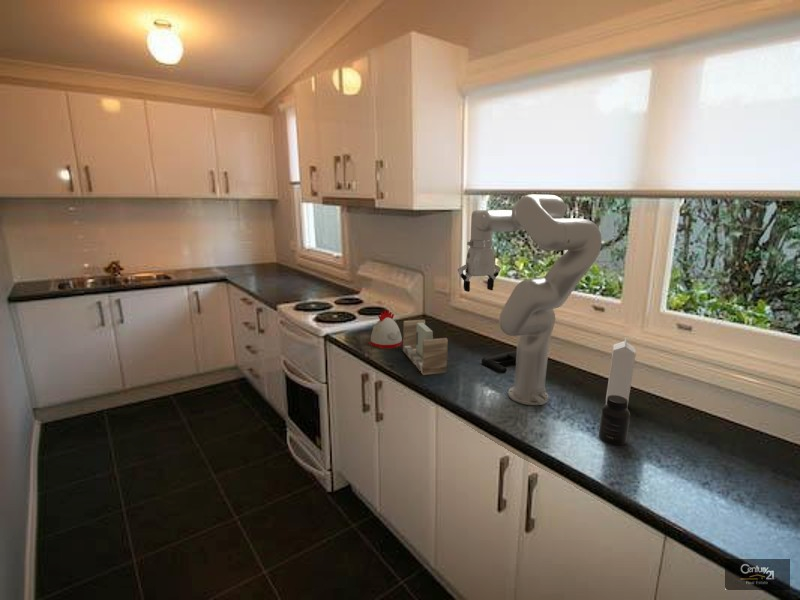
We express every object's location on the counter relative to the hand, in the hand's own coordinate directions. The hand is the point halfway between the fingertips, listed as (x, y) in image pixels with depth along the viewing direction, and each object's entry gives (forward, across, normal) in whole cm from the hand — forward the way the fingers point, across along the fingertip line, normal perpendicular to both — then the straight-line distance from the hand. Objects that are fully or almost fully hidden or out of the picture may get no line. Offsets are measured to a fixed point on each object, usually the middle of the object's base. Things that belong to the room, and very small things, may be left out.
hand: (478, 290), depth 159 cm
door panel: (+28, -18, +8) cm, 34 cm away
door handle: (+30, +13, -5) cm, 33 cm away
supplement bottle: (+31, +10, -58) cm, 67 cm away
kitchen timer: (+29, -26, +33) cm, 51 cm away
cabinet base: (+29, -18, +8) cm, 35 cm away
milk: (+30, +27, -43) cm, 59 cm away
